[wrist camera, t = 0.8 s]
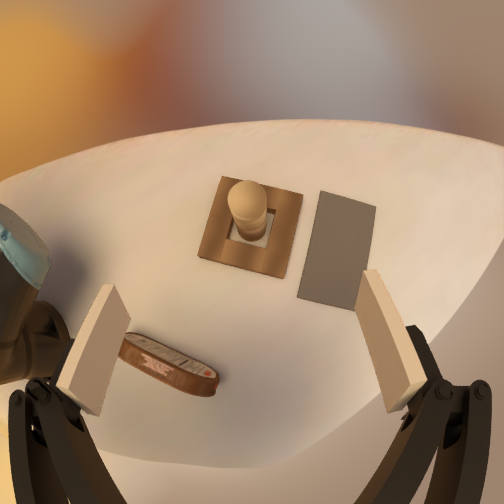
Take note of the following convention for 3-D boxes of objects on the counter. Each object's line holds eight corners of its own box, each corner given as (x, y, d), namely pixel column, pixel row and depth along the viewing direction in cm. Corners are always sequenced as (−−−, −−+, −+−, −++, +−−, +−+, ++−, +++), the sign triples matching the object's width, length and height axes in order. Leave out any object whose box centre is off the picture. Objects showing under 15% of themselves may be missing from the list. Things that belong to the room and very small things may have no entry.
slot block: (200, 257, 39) (197, 255, 37) (223, 181, 41) (221, 176, 39) (282, 279, 38) (283, 278, 37) (301, 199, 40) (303, 194, 38)
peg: (234, 237, 40) (222, 212, 28) (242, 211, 40) (233, 177, 29) (262, 244, 39) (261, 221, 28) (268, 218, 40) (270, 185, 28)
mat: (296, 297, 38) (297, 297, 37) (320, 191, 40) (320, 190, 40) (356, 311, 37) (357, 311, 37) (374, 207, 40) (376, 206, 39)
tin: (129, 343, 38) (100, 351, 30) (135, 325, 38) (106, 330, 30) (219, 386, 36) (207, 407, 28) (226, 368, 37) (217, 385, 28)
